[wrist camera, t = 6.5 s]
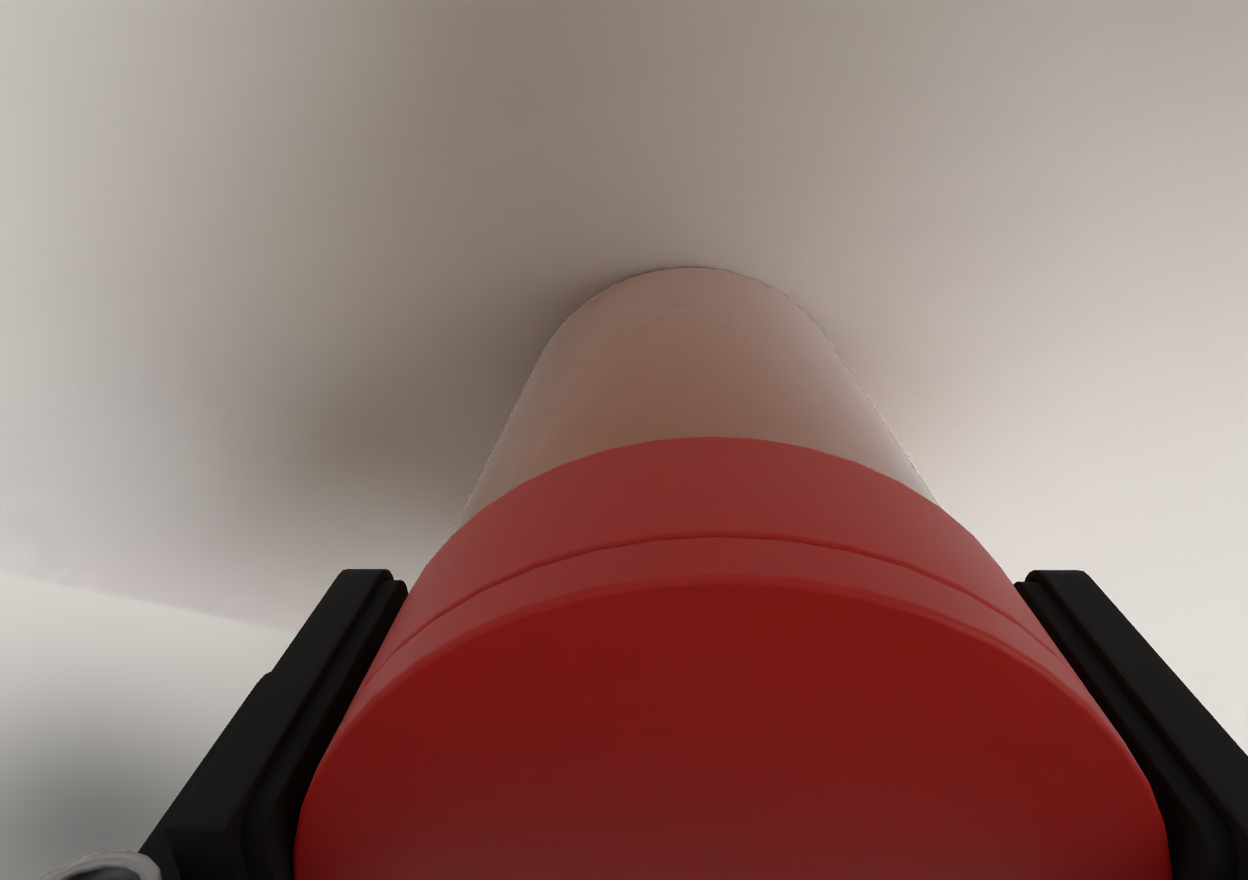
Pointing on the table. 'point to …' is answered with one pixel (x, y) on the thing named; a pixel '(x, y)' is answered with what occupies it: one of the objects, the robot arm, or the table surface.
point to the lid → (722, 694)
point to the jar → (686, 381)
